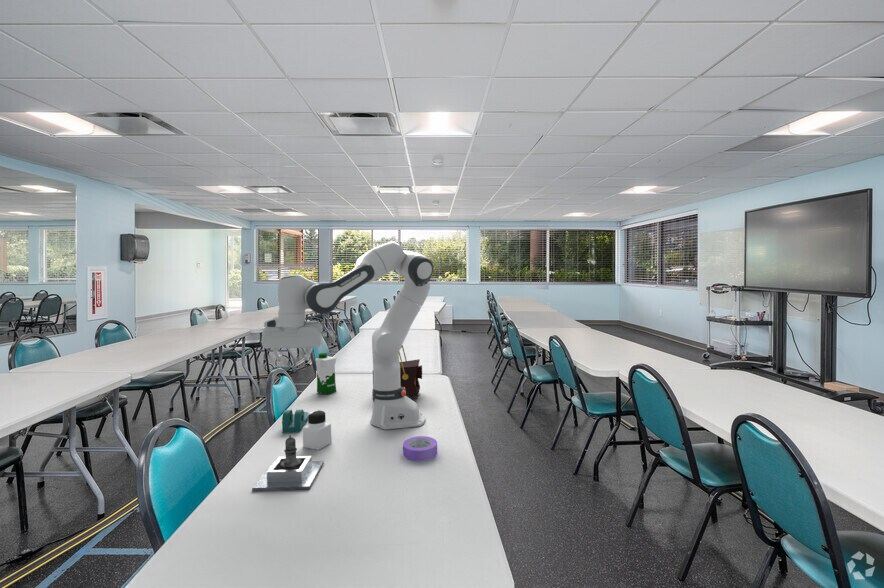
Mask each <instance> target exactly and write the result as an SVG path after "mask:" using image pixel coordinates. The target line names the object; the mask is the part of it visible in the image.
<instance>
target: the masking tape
mask: <svg viewBox="0 0 884 588" xmlns="http://www.w3.org/2000/svg"><path fill="white" fill-rule="evenodd" d="M402 455H403V457H404V458H405V459H407V460H410V461H413V462H423V461H424V462H425V461H429V460H432V459H434V458H435V457H436V456H438V441H437V440H436V439H435V438H433V437H430V436H427V435H426V436H425V435H418V436H412V437H408V438H406V439H405V440H404V441H403V443H402Z"/></svg>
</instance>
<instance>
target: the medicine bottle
mask: <svg viewBox="0 0 884 588" xmlns="http://www.w3.org/2000/svg"><path fill="white" fill-rule="evenodd" d="M308 413H309V414H308V421H307V425H305V426H304V427H303V429H302V447H303V448H306V449H311V450H316V451H320V450H322V449H323V448H325V447H327V446H328V445H330V444H331V443H332V423H327V422H326V420H327V419H326V412H325V411H324V410H313V411H310V412H308Z"/></svg>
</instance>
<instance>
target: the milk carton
mask: <svg viewBox="0 0 884 588" xmlns="http://www.w3.org/2000/svg"><path fill="white" fill-rule="evenodd" d="M314 361H315V365H316V393H317V392H318V393H317V394H320V393H322V394H321V395H325V394H326V395H330V394H333V393H336V392H337V385H336V383H337V382H336V361H337V357H334V356H330V355H329V356H328V353H326V352H322V353H318V357H316V358H315V359H314Z"/></svg>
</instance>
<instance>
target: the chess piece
mask: <svg viewBox="0 0 884 588" xmlns="http://www.w3.org/2000/svg"><path fill="white" fill-rule="evenodd" d="M284 442H285V449H284V450H283V451H284V453H285V457H286V458H285V460H284V461H282V462H281V466H282V469H283V470H293V469H298V468H299V467H300V463H301V459H299V458H297V457H296V456H297V450H298V448H297V447H296V438H294V437H292V435H291V434H290V435H288V438H286V439H285V441H284Z"/></svg>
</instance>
